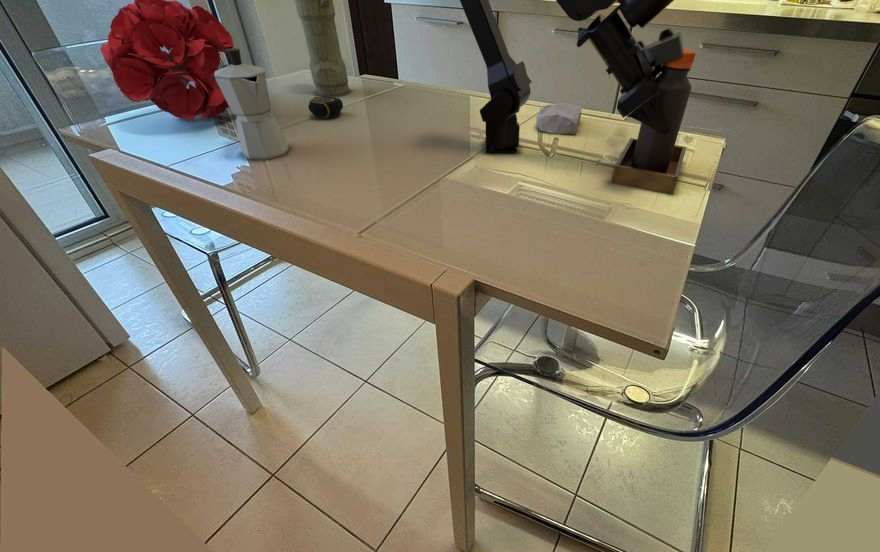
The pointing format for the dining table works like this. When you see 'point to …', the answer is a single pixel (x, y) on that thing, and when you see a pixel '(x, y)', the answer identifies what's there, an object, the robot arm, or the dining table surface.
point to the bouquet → (168, 57)
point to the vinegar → (673, 99)
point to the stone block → (559, 118)
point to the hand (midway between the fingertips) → (669, 125)
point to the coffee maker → (251, 108)
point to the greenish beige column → (323, 47)
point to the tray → (644, 177)
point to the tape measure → (325, 106)
